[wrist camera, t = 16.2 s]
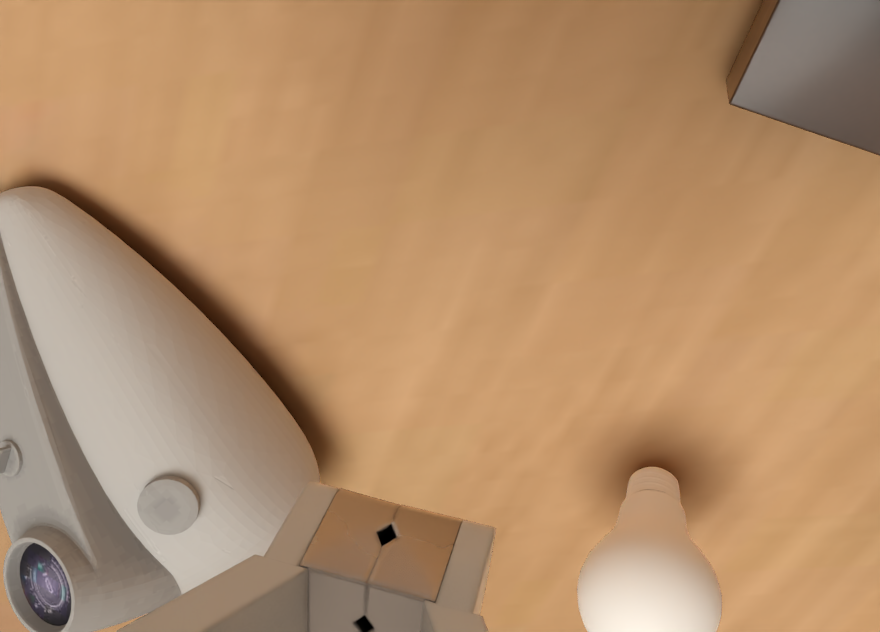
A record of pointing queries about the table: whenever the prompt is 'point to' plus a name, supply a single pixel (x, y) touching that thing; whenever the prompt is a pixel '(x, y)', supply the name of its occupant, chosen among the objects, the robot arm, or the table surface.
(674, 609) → the lightbulb
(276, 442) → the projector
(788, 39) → the panel
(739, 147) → the table surface
